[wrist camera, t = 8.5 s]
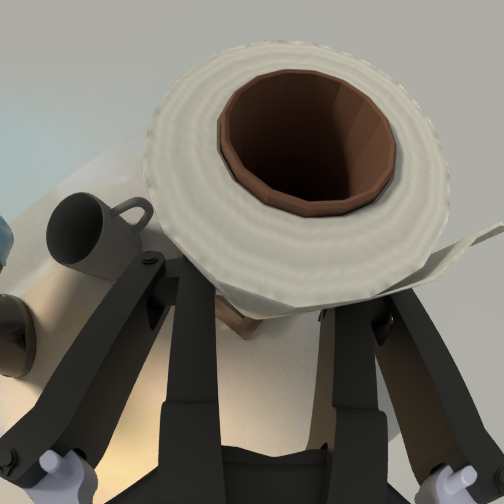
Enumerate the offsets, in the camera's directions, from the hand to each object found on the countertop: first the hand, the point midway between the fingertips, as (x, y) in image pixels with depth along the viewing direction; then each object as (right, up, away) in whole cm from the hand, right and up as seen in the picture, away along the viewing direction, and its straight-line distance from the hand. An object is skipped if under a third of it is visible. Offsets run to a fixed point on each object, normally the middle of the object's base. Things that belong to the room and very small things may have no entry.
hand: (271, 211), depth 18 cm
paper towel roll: (0, -6, +8) cm, 10 cm away
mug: (-20, -1, +23) cm, 30 cm away
